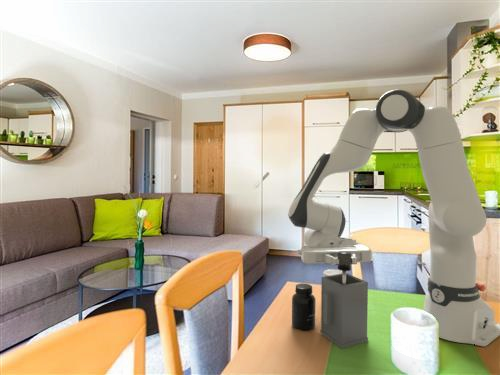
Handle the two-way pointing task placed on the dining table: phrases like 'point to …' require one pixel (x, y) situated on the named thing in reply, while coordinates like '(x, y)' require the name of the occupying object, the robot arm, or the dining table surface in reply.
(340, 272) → the white cup
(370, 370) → the dining table surface
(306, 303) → the supplement bottle
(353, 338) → the gray open square box
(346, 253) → the dark cylinder rod
